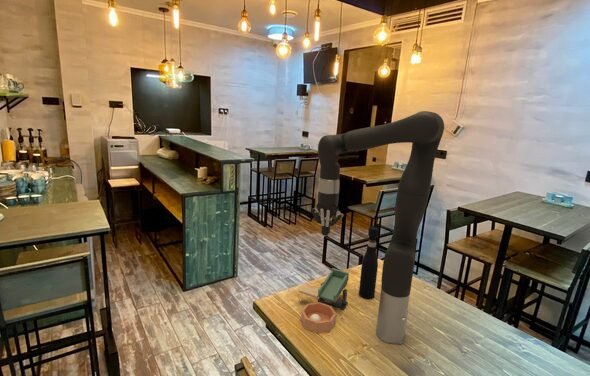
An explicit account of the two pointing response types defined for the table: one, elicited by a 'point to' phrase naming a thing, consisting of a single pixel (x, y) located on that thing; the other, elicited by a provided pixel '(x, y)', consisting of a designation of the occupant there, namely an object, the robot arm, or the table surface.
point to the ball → (315, 317)
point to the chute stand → (339, 303)
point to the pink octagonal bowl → (325, 314)
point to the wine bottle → (369, 267)
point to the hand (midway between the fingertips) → (325, 235)
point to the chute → (328, 286)
